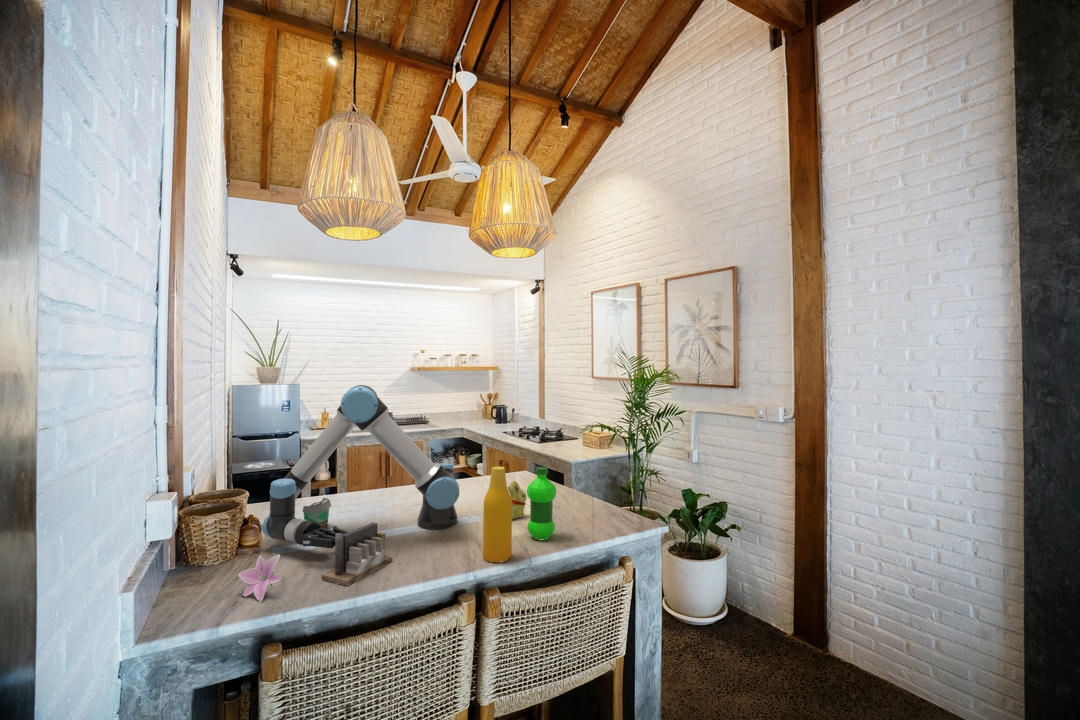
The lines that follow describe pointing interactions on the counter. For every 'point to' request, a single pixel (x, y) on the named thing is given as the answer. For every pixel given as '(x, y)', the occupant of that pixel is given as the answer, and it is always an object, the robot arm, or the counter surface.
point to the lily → (260, 576)
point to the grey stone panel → (357, 539)
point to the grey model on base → (357, 559)
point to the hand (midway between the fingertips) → (359, 544)
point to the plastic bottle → (541, 505)
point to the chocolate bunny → (517, 500)
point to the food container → (318, 512)
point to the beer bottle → (497, 518)
